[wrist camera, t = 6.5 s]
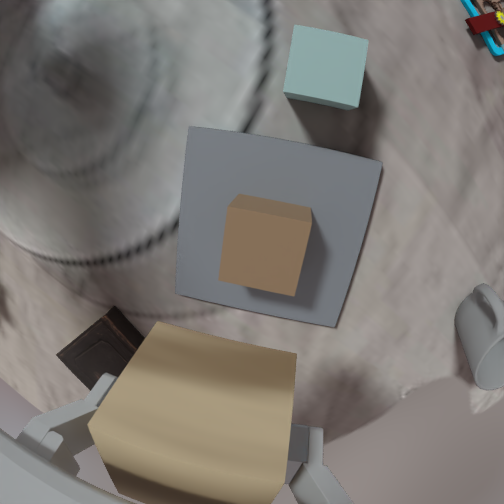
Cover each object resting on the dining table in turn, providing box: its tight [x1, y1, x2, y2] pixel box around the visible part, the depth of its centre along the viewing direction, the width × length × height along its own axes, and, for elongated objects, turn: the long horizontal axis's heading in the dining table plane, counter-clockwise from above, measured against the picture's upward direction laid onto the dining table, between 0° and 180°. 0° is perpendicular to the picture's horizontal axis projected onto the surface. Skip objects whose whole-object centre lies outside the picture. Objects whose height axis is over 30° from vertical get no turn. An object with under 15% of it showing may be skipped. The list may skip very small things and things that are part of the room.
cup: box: [455, 283, 504, 390], centre depth 23 cm, size 8×10×8 cm
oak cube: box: [87, 321, 297, 504], centre depth 9 cm, size 5×5×5 cm
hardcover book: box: [56, 306, 145, 390], centre depth 39 cm, size 16×23×2 cm
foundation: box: [175, 126, 382, 327], centre depth 26 cm, size 16×16×5 cm
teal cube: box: [283, 25, 368, 110], centre depth 20 cm, size 5×5×5 cm
